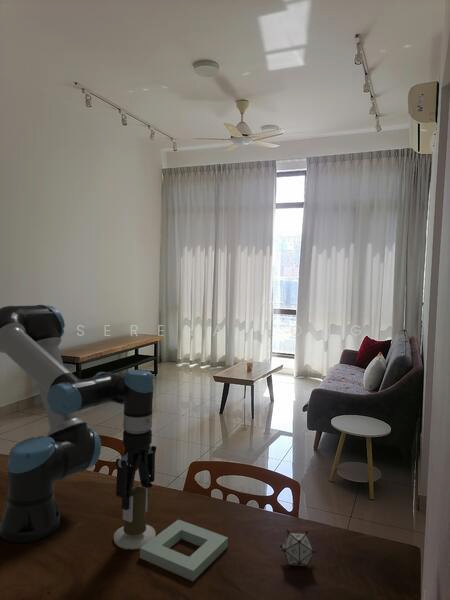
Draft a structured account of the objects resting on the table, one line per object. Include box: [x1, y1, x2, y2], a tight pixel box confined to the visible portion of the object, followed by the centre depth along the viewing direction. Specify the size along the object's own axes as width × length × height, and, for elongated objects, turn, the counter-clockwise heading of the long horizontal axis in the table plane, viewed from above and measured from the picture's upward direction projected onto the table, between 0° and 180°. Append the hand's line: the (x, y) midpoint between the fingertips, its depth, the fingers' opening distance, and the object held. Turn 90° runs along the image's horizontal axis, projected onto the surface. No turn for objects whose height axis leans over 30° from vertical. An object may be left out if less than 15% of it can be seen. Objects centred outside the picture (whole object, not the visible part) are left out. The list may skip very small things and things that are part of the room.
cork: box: [123, 485, 147, 535], centre depth 117 cm, size 6×6×11 cm
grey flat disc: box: [113, 524, 157, 551], centre depth 118 cm, size 11×11×1 cm
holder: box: [139, 519, 229, 582], centre depth 112 cm, size 16×16×2 cm
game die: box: [279, 529, 317, 570], centre depth 108 cm, size 9×8×10 cm
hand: (135, 515), depth 118 cm, fingers closed on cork, 5 cm apart
